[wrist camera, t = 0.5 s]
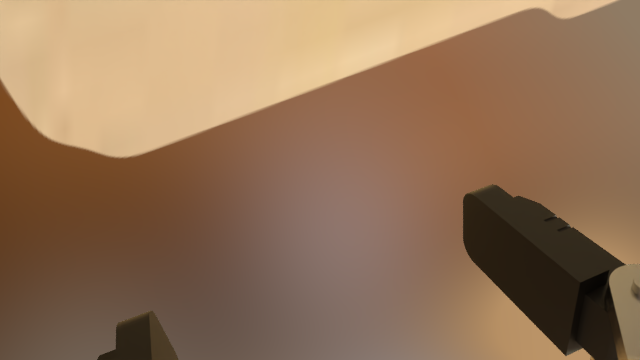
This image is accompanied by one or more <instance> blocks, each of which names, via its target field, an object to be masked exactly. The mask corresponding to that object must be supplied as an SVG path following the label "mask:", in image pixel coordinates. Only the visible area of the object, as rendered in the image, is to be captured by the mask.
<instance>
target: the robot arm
mask: <svg viewBox="0 0 640 360" xmlns="http://www.w3.org/2000/svg"><path fill="white" fill-rule="evenodd" d="M463 241H464V245H465V248H466V250H467V253H468V255H469V256H470V258H471V259H472V261H473V262H474V263H475V264H476V265H477V266H478V267H479V268H480V269H481V270H482V271H483V272H484V273H485V274H486V275H487V276H488V277H489V278H490V279H491V280H492V281H493V282H494V283H495V284H496V285H497V286H498V287H499V288H500V289H501V290H502V291H503V292H504V293H505V295H506V296H507V297H508V298H510V300H511V301H513V303H515V305H516V306H517V307H518V308H519V309H520V310H521V311H522V312H523V313H524V314H525V315H526V316H527V317H528V318H529V319H530V320H531V321H532V322H533V323H534V324H535V325H536V326H537V327H538V328H539V329H540V330H541V331H542V332H543V333H544V334H545V335H546V336H547V337H548V338H549V339H550V340H551V341H552V342H553V343H554V344H555V345H556V346H557V347H558V349H560V350H561V352H562V353H563V354H564V355H565V356H567V355H569V354H571V353H573V352H575V351H577V350H580V349H582V348H584V349H585V350H586V351H587V352H588V353H589V354H590V355H591V357H590V360H640V264H630V265H626V264H624V263H622V262H621V261H620V260H618V259H617V258H615V257H614V256H612V255H611V254H610V253H608V252H607V251H606V250H604V249H603V248H601V247H600V246H599V245H597V244H596V243H594V242H593V241H592V240H590V239H589V238H587V237H586V236H585V235H583V234H582V233H580V232H579V231H578V230H576V229H575V228H571V227H570V225H569V224H568V223H566V222H565V221H563V220H562V219H561V218H557V217H556V215H555V214H554V213H552V212H551V211H550V210H548V209H547V208H545V207H544V206H542V205H541V204H539V203H537V202H534V201H532V200H529V199H526V198H523V197H521V196H516V197H514V198H513V197H512V196H511V195H509V194H508V193H507V192H505V191H504V190H503V189H501V188H500V187H499V186H497V185H493V184H492V185H489V186H486V187H484V188H481V189H478V190H476V191H473V192H470V193H467V194H466V195H465V196H464V199H463ZM97 360H178V357H177V355H176V352H175V351H174V348H173V347H172V345H171V343H170V341H169V339H168V337H167V335H166V333H165V332H164V330H163V328H162V326H161V324H160V322H159V320H158V318H157V317H156V315H155V313H154V312H153V311H149V312H146V313H144V314H141V315H138V316H135V317H133V318H130V319H128V320H125V321H122V322H119V323H118V324H117V327H116V349H115V350H113V351H110V352H108V353H105V354H103V355H100V356H99V357H98V359H97Z"/></svg>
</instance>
